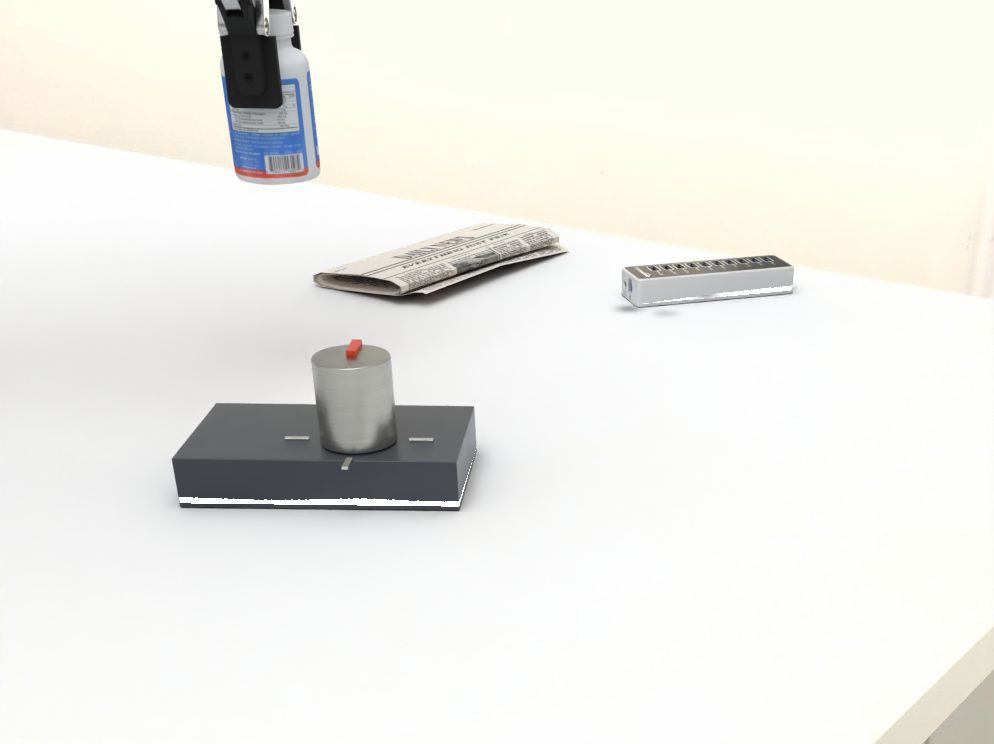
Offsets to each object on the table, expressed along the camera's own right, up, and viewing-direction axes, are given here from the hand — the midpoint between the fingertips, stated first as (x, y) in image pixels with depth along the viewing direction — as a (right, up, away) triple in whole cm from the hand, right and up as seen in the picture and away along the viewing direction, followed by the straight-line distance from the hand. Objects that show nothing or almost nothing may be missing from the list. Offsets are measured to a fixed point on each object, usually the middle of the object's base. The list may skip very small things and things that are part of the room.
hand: (268, 96), depth 83 cm
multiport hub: (+29, -4, +32) cm, 44 cm away
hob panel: (+5, -24, -3) cm, 25 cm away
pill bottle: (0, -4, +3) cm, 5 cm away
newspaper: (+6, 0, +38) cm, 39 cm away
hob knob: (+7, -22, -6) cm, 24 cm away
